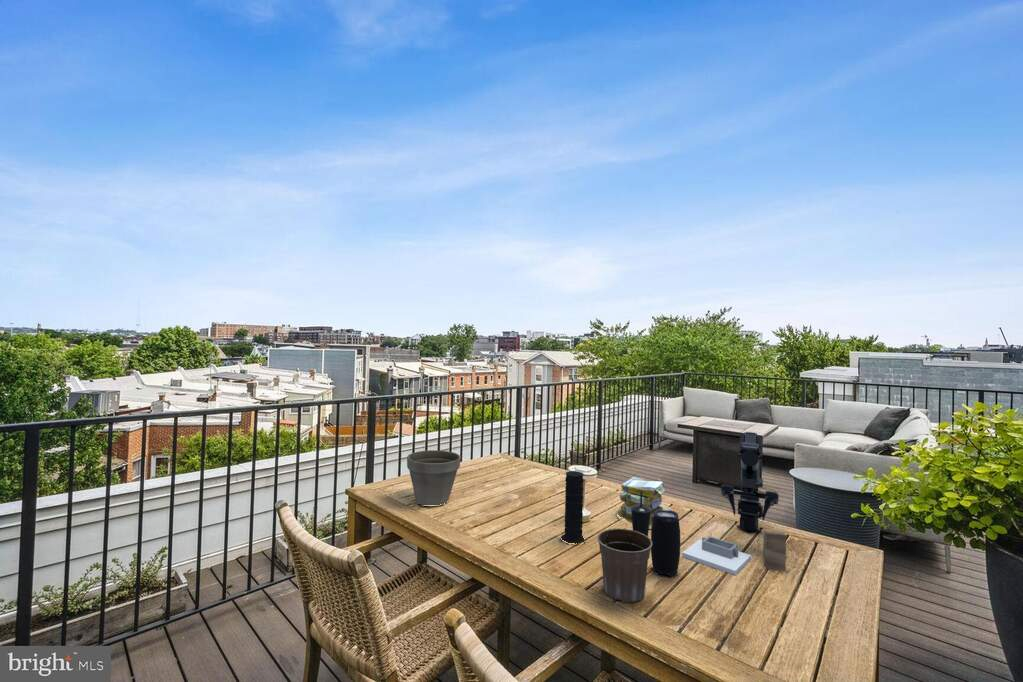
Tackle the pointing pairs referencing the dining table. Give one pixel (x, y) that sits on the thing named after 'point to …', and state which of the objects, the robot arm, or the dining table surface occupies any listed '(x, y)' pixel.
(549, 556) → the dining table surface
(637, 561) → the plant pot
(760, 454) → the robot arm
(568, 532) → the handle grip
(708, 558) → the white base with frame
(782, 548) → the wooden rectangular pillar
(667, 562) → the portable speaker
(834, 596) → the dining table surface
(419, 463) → the plant pot
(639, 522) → the drinking cup
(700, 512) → the dining table surface
